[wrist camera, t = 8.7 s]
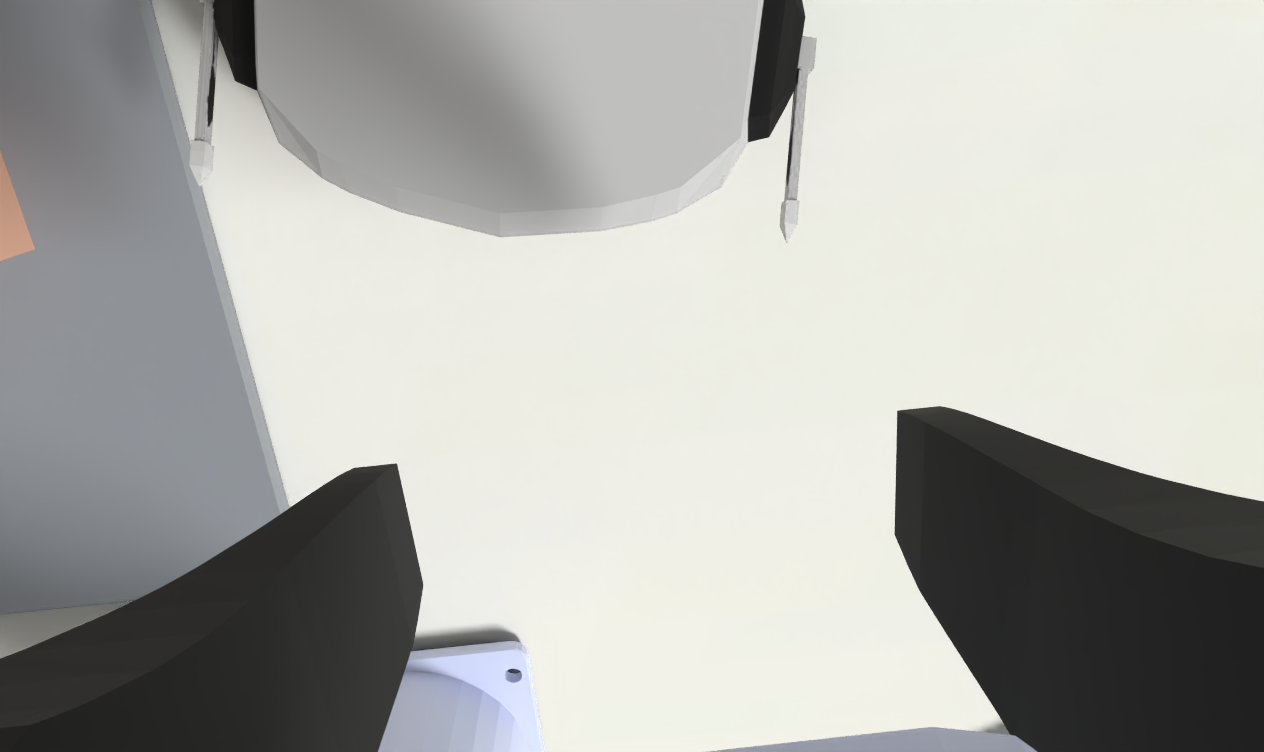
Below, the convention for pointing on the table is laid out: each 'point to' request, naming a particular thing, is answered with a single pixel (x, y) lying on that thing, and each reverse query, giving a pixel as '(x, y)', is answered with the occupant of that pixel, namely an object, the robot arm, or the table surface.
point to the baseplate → (114, 325)
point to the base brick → (11, 220)
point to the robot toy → (517, 101)
